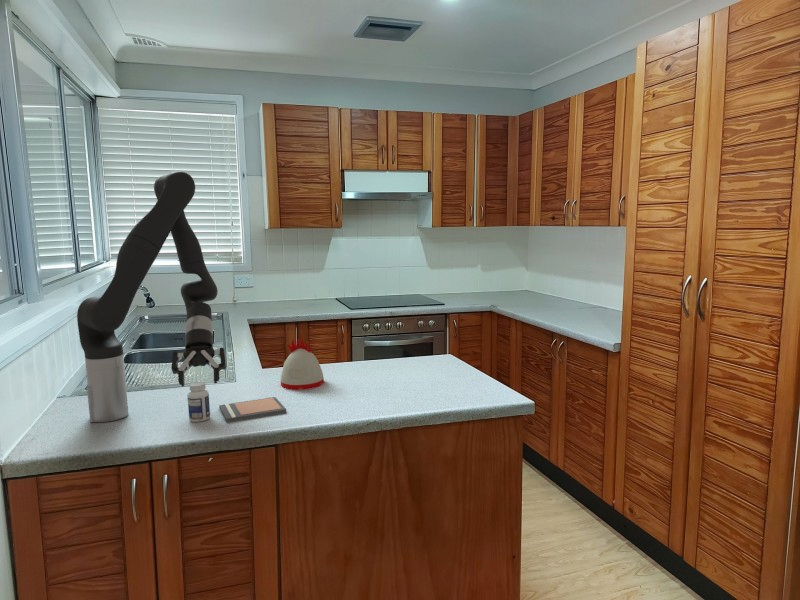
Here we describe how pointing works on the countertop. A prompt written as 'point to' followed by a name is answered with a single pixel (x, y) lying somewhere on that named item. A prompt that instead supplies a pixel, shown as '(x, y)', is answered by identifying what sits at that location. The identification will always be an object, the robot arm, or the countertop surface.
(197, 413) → the pill bottle
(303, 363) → the white and red dome
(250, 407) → the line mat
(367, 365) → the countertop surface
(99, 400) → the robot arm
